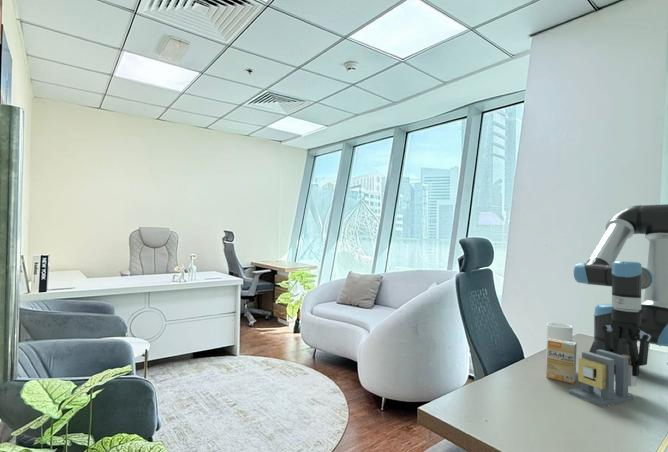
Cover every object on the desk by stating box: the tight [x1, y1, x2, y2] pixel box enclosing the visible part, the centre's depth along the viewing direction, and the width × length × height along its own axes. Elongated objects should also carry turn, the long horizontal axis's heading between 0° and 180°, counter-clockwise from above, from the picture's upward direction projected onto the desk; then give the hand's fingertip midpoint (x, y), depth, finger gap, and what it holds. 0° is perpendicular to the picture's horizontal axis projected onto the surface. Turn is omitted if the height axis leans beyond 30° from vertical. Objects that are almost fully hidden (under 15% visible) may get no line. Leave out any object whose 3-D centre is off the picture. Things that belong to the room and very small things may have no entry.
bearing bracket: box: [568, 350, 635, 408], centre depth 115 cm, size 15×10×13 cm, turn 113°
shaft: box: [583, 355, 631, 379], centre depth 117 cm, size 20×3×6 cm, turn 113°
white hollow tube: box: [545, 322, 574, 368], centre depth 140 cm, size 8×8×16 cm
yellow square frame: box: [577, 357, 607, 390], centre depth 113 cm, size 2×7×7 cm, turn 24°
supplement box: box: [545, 338, 578, 385], centre depth 129 cm, size 8×5×13 cm, turn 50°
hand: (625, 383), depth 120 cm, fingers closed on shaft, 3 cm apart
